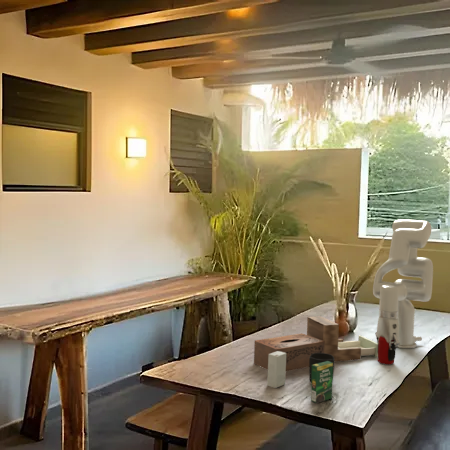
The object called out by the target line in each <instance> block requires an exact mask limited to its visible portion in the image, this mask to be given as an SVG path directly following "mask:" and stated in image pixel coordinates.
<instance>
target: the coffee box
mask: <svg viewBox="0 0 450 450" xmlns="http://www.w3.org/2000/svg"><path fill="white" fill-rule="evenodd" d="M332 377H333V378H334V372H333V363H332V362H330V361H325V362H322V363H318V364H314V365H312V379H311V382H310V383H311V384H310V385H311V386H310V387H311V388H310V391H311V392H310V402H312V403H314V404H318V403H321V402H325V401H330V400H332V399H333V382H332ZM329 399H330V400H329Z"/></svg>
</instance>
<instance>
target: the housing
mask: <svg viewBox="0 0 450 450" xmlns="http://www.w3.org/2000/svg"><path fill="white" fill-rule="evenodd" d="M306 322H307V323H306V324H307V325H306V335H308V336H311V337H314V338H317V339H320V340H323V341H325V347H324V353H326V354H330V355H332V356H333V357H334V359H335V360H334V363H335V362H336V363H337V362H347V361H348V362H349V361H359V360H360V361H361V357H362V356H361V348H346V349H338V342H344V339H343V338H339V330H340V329H339V325H340V324H339V323H336V322H334V321H332V320H330V319H328V318H326V317H324V316H322V315H320V316H319V315H317V316H307V321H306Z"/></svg>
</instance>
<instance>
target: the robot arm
mask: <svg viewBox="0 0 450 450" xmlns="http://www.w3.org/2000/svg"><path fill="white" fill-rule="evenodd" d="M391 227H392V235H391V242H390V248H389V253H388V254H389V255H388V259H387V260H386V261H385V262H383V263H382V264H381V265H380V266H379V268H378V269H377V271H376V272H375V275H374V279H373V285H372V293H373V296H374V297H375V298H377V299H379V307H378V318H377V327H376V331H375V334H374V335H375V337H376V343H377V344H379V337H380V336H384V337H385V339H386V341H387V342H388V345H389V349H388V359H394V360H395V359H396V350H397V349H415V348H416V347H417V342H421V341H422V340H423V338H422V336H415V333H414V332H415V313H416V311H415V307H414V305H413V304H412V301H414V302H415V301H416V302H430V300H431V298H432V295H433V294H432V293H433V277H434V265H433V261H432V260H431V259H430V258H428V257H421V256H420V257H419V256H418V249H423V248H425V247H426V245H427V243H428V240H429V239H430V236H431V235H432V224H431V223H430V222H429V221H428V220H420V219H419V220H417V219H397V220H394V221H393V222H392V226H391ZM393 270H397V273H398V274H399V275H400V276H403V277H410V278H420V279H421V280H419V279H418V280H417V279H406V278H399V279H396V280H395V281H394V282H391V281H383V279H384V276H385V275H387V274H388V273H389V272H391V271H393ZM391 340H393V342H391ZM392 343H393V345H392V346H391V344H392Z"/></svg>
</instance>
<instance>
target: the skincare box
mask: <svg viewBox="0 0 450 450" xmlns="http://www.w3.org/2000/svg"><path fill="white" fill-rule="evenodd" d="M286 373H287V371H286V353H284V352H280V351H276V352H274V353H271V354H269V356H268V370H267V379H266V380H267V382H266V383H267V384H266V385H267V386H269V387H270V388H274V389H277V388H279V387H282V386H283V385H284V386H285V384H286Z"/></svg>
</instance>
